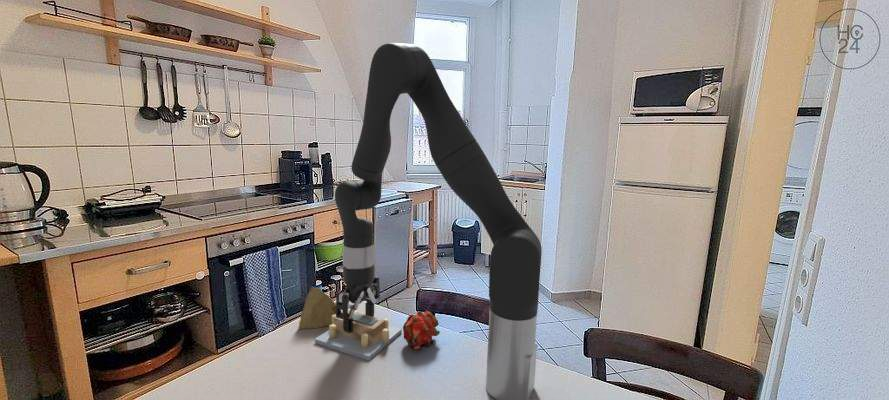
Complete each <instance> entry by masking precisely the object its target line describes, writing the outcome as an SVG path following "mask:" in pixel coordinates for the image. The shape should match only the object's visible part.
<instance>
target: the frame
mask: <svg viewBox="0 0 889 400" xmlns="http://www.w3.org/2000/svg"><path fill="white" fill-rule="evenodd" d="M349 312H350V309H348V313H349ZM352 318H353V332H351V333H347V332H345V331H344V330H343V319H340V318H336V317H334V324H335V325H336V334H340V335H343V336H346V337H350V338H353V339H356V340H360V341H361V335H362V334H368V343H370V344H373V345H374V344H375V343H376V342H378V341H379V340H380V339H381V338H382V330H383V329H385V320H383V319H384V318H378V317H375V316H374V317H371V316H368V315H366V314H364V313H359V312H358V313H356V312H354V314H353V316H352Z"/></svg>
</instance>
